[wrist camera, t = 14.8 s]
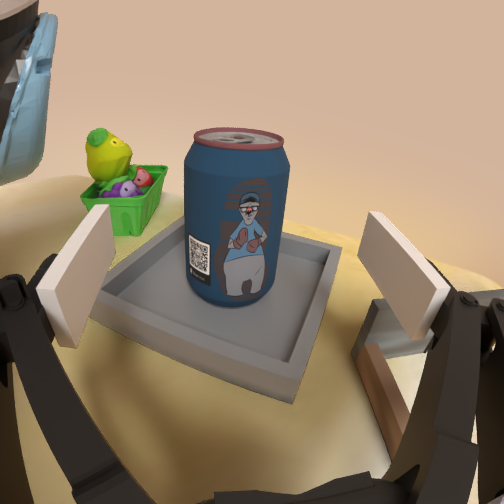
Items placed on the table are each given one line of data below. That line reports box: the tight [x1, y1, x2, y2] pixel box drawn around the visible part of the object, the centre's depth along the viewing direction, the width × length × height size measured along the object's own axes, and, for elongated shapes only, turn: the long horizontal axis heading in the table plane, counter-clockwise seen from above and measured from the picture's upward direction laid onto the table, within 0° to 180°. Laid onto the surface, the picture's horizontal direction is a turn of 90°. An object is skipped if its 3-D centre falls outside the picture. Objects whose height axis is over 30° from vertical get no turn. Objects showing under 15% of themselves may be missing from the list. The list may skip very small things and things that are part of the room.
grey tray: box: [89, 216, 342, 404], centre depth 25 cm, size 16×16×2 cm
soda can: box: [184, 128, 290, 309], centre depth 22 cm, size 7×7×12 cm
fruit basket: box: [80, 128, 168, 236], centre depth 33 cm, size 11×9×11 cm
